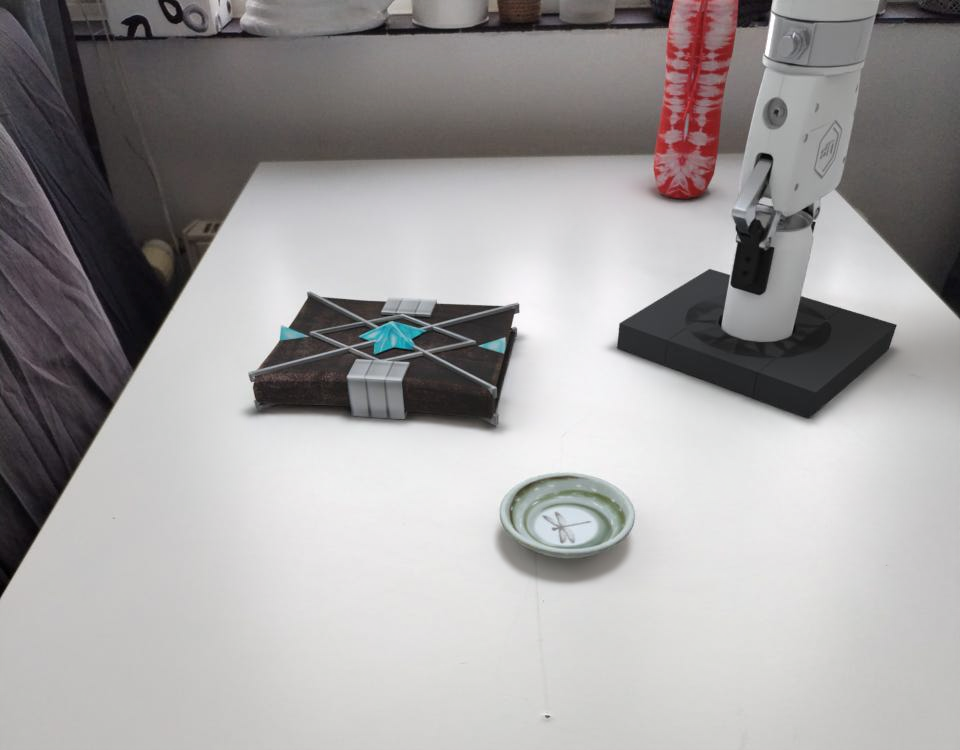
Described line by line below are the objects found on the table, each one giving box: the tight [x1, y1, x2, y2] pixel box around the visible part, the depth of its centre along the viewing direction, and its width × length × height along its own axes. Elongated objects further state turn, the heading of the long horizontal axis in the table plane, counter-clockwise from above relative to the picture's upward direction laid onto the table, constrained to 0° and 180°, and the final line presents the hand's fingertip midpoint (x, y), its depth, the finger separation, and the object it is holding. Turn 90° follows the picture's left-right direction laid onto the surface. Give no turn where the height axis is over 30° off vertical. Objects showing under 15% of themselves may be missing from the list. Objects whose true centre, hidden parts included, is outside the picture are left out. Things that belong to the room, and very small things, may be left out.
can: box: [721, 205, 814, 342], centre depth 81 cm, size 6×6×12 cm
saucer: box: [499, 472, 636, 559], centre depth 64 cm, size 10×10×2 cm
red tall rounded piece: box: [653, 0, 739, 200], centre depth 107 cm, size 12×8×25 cm, turn 162°
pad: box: [616, 268, 897, 419], centre depth 84 cm, size 20×16×2 cm
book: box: [247, 290, 520, 427], centre depth 81 cm, size 22×17×5 cm
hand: (768, 275), depth 80 cm, fingers closed on can, 6 cm apart
